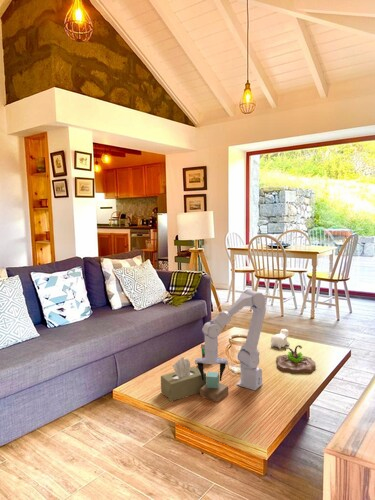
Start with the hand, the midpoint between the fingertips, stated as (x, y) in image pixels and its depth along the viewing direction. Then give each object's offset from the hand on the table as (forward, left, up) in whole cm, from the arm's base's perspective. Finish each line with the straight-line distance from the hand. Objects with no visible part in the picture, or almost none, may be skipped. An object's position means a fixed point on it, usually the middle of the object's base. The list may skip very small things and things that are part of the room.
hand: (211, 379), depth 159 cm
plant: (-19, -50, -7) cm, 54 cm away
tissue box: (+11, +6, -7) cm, 14 cm away
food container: (+21, -31, -7) cm, 38 cm away
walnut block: (-2, +1, -7) cm, 7 cm away
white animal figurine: (-1, -73, -7) cm, 74 cm away
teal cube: (0, 0, -3) cm, 3 cm away
